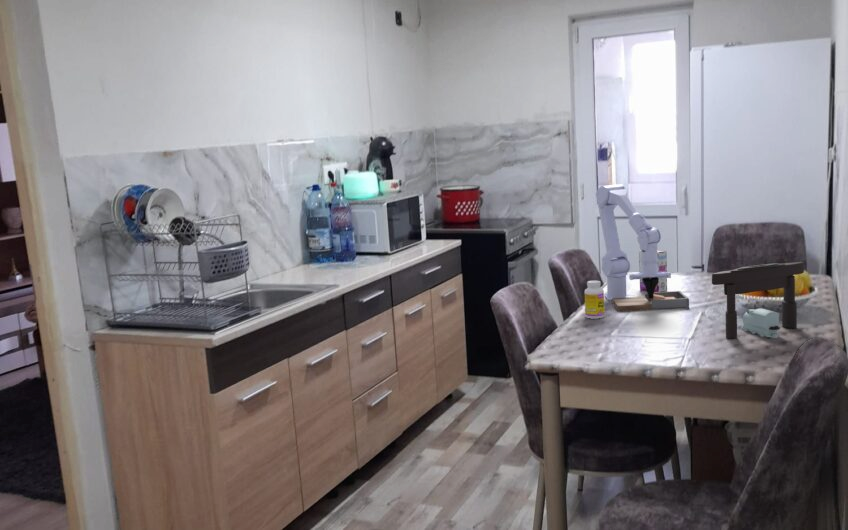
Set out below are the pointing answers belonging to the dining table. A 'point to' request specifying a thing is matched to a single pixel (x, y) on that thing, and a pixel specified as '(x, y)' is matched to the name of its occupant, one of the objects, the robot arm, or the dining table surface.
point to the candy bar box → (662, 267)
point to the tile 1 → (657, 297)
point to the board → (631, 304)
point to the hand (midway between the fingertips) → (650, 297)
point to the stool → (753, 282)
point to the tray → (669, 301)
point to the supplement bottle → (594, 300)
